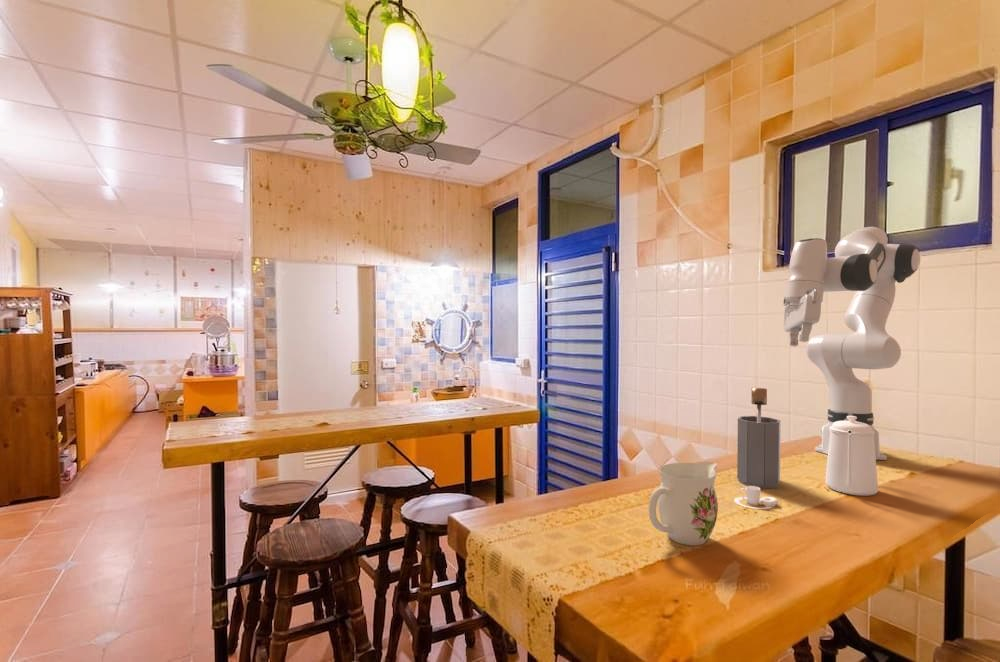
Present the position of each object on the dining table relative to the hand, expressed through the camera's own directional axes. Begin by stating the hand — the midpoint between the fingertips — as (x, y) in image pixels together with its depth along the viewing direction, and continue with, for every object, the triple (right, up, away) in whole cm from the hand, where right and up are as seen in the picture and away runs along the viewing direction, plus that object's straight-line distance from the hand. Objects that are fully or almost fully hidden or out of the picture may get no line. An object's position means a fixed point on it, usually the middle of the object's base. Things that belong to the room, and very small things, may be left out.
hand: (798, 343), depth 135 cm
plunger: (-13, -35, -4) cm, 38 cm away
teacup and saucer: (-22, -38, -22) cm, 49 cm away
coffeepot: (+7, -37, -10) cm, 39 cm away
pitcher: (-46, -37, -39) cm, 71 cm away
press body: (-12, -37, -3) cm, 39 cm away
